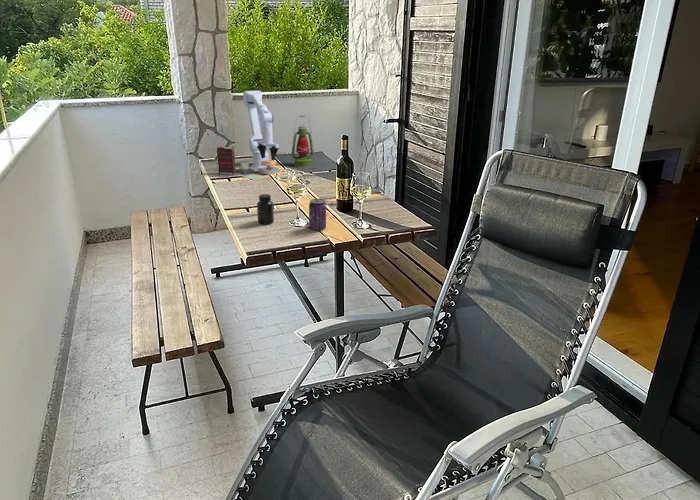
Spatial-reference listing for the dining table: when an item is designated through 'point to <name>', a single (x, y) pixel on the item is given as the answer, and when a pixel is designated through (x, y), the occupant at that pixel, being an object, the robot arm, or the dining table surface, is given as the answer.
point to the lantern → (302, 146)
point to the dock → (245, 171)
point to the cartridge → (244, 165)
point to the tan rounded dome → (268, 163)
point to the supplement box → (226, 161)
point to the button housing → (268, 170)
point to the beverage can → (317, 214)
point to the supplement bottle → (265, 210)
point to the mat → (252, 176)
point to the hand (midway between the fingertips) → (268, 158)
